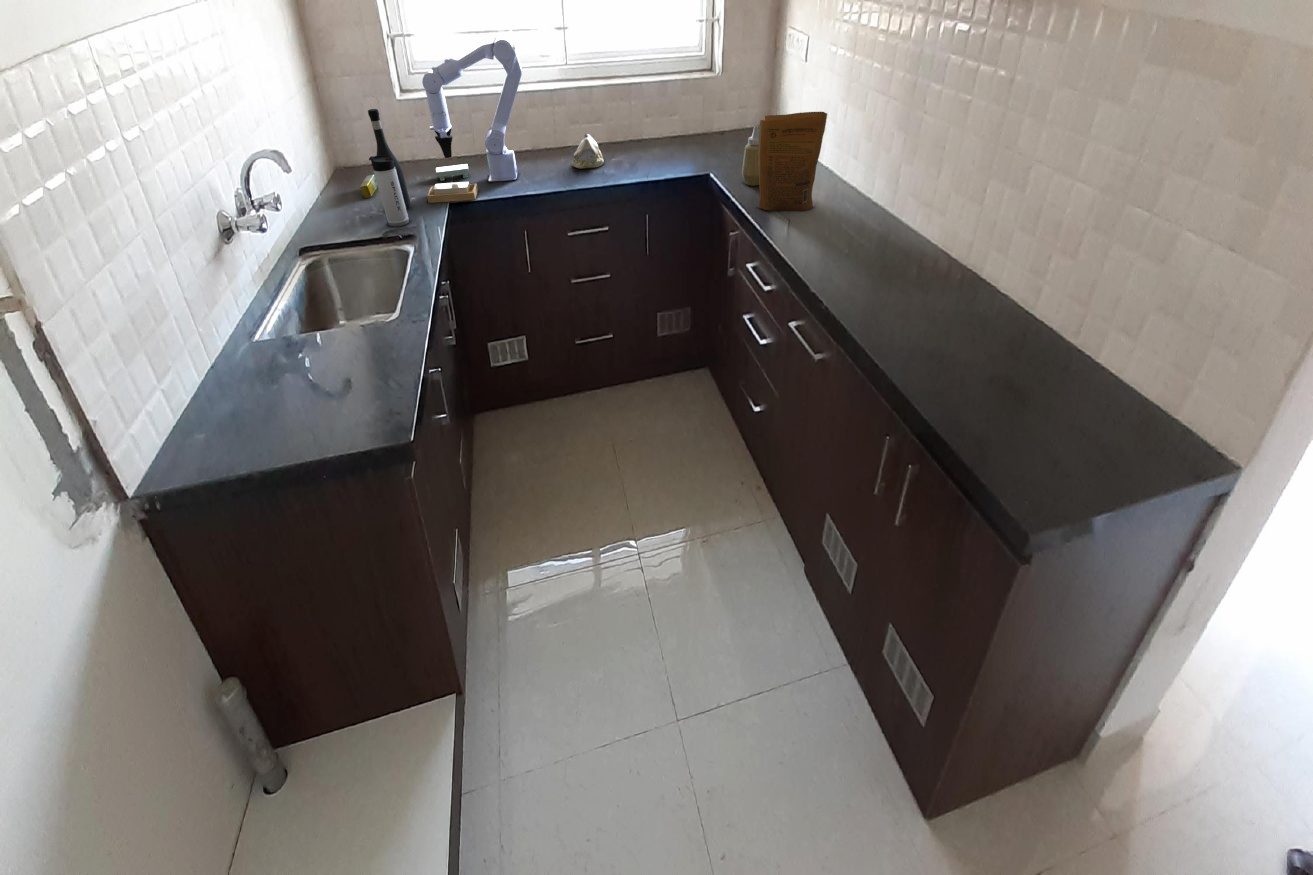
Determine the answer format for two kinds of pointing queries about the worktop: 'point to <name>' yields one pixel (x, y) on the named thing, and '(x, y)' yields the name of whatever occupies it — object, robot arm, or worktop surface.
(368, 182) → the medication box
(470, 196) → the tray
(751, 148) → the squeeze bottle
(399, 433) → the worktop surface
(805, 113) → the pancake mix bag
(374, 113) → the wine bottle
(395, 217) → the travel mug
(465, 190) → the off-white rectangular slab
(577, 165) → the ceramic model
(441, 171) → the sage green thick block
